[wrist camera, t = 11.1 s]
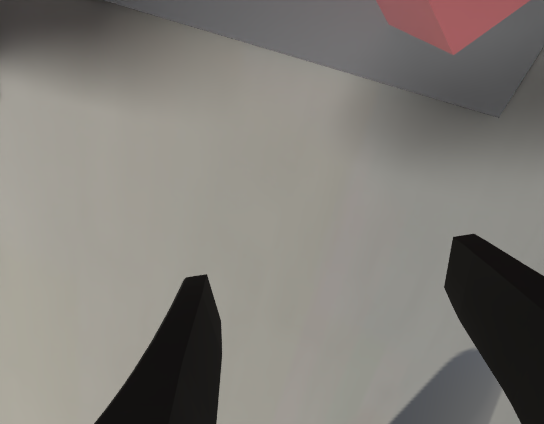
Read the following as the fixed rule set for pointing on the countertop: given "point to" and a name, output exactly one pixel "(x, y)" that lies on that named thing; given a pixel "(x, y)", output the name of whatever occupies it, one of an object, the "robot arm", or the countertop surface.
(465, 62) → the mat
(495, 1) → the box
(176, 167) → the countertop surface
